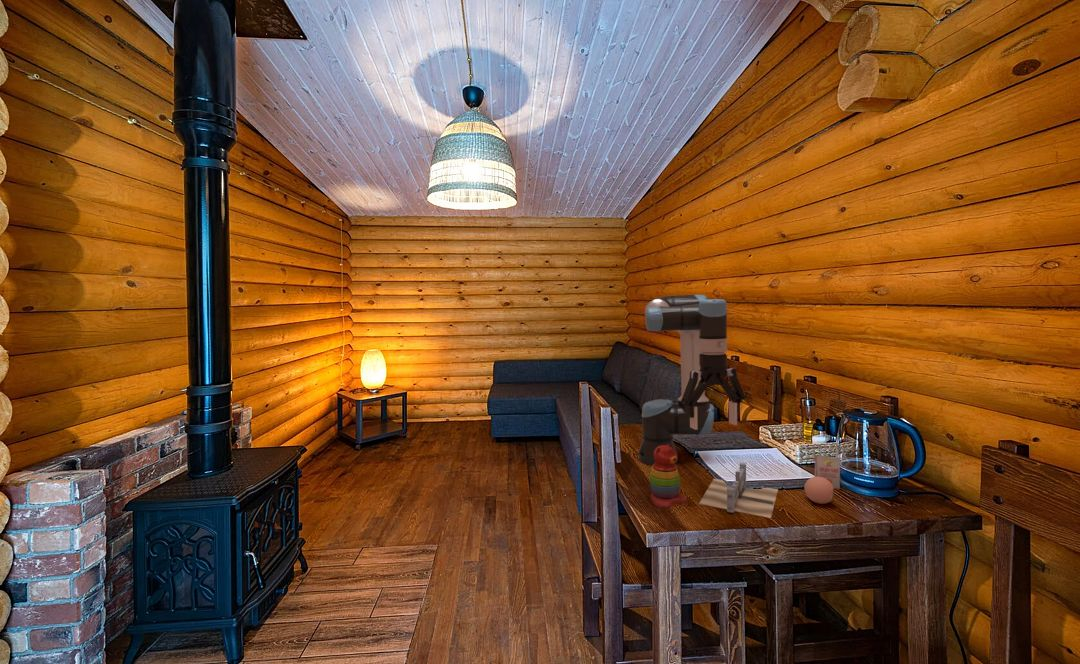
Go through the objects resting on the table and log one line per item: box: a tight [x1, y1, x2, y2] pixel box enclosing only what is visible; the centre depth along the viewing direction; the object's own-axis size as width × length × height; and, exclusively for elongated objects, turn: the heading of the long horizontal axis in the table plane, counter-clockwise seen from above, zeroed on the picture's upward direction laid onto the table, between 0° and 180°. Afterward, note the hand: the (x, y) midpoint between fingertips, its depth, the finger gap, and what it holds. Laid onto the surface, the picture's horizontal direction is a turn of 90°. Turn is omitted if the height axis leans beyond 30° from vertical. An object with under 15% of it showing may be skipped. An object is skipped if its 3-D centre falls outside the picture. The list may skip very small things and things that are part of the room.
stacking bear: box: [649, 444, 688, 509], centre depth 147 cm, size 11×10×18 cm
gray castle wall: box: [726, 480, 739, 514], centre depth 141 cm, size 12×2×7 cm, turn 148°
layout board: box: [698, 478, 779, 519], centre depth 147 cm, size 22×20×1 cm
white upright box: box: [814, 454, 841, 491], centre depth 153 cm, size 4×7×10 cm, turn 63°
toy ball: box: [804, 476, 835, 505], centre depth 142 cm, size 8×8×8 cm
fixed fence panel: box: [734, 462, 747, 497], centre depth 151 cm, size 12×2×8 cm, turn 148°
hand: (713, 426), depth 135 cm, fingers open, 12 cm apart
